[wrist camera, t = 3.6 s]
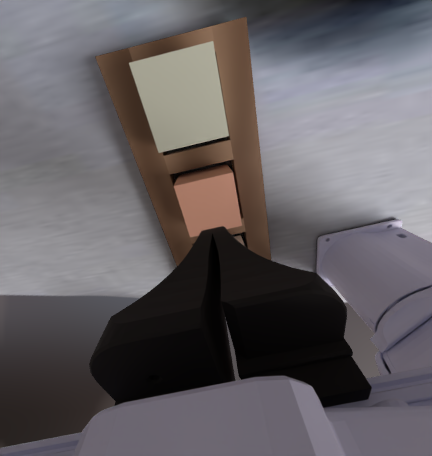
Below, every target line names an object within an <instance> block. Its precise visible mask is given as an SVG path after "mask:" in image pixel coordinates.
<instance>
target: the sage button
mask: <svg viewBox="0 0 432 456" xmlns="http://www.w3.org/2000/svg"><path fill="white" fill-rule="evenodd" d="M129 65H130V68H131V71H132V74H133V77H134V80H135V83H136V86H137V89H138V92H139V95H140V98H141V101H142V104H143V107H144V110H145V113H146V116H147V119H148V122H149V125H150V128H151V131H152V134H153V137H154V140H155V143H156V146H157V149H158V152H159V153H161V152H165V151H169V150H173V149H177V148H182V147H186V146H190V145H194V144H198V143H202V142H206V141H211V140H215V139H219V138H223V137H227V136H229V133H228V127H227V121H226V115H225V109H224V103H223V97H222V91H221V85H220V79H219V73H218V67H217V61H216V55H215V49H214V43H213V41H211V42H207V43H204V44H200V45H196V46H192V47H188V48H184V49H180V50H177V51H173V52H169V53H165V54H161V55H157V56H154V57H150V58H146V59H142V60H138V61H134V62H130V63H129Z"/></svg>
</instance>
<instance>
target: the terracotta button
mask: <svg viewBox="0 0 432 456" xmlns="http://www.w3.org/2000/svg"><path fill="white" fill-rule="evenodd" d="M174 189H175V192H176V195H177V198H178V201H179V205H180V208H181V211H182V214H183V217H184V220H185V223H186V226H187V229H188V232H189V235H190V237H194V236H199V234H200V233H201V231H203V230H207V229H212V228H216V227H221V226H224V227H226V229H230V228H234V227H239V226H242V222H241V216H240V210H239V204H238V199H237V193H236V187H235V181H234V175H233V172H232V170H231V169H230V168H229V166H228V165H227V164H223V165H219V166H215V167H211V168H207V169H202V170H198V171H194V172H190V173H185V174H181V175H179V176H178V178H177V180H176V182H175V184H174Z"/></svg>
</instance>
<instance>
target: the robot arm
mask: <svg viewBox="0 0 432 456" xmlns="http://www.w3.org/2000/svg"><path fill="white" fill-rule="evenodd" d="M401 227H402V221H401V220H399V219H395V220H391V221H386V222H382V223H377V224H373V225H368V226H364V227H359V228H355V229H350V230H346V231H341V232H337V233H332V234H328V235H323V236H320V237H319V238H318V240H317V269H316V273H313V272H309V271H304V270H300V269H295V268H291V267H288V266H285V265H282V264H279V263H276V262H273V261H271V260H268V259H266V258H264V257H262V256H260V255H258V254H256V253H254V252H252V251H251V250H249V249H248V248H246V247H245V246H244V245H242V244H241V243H240V242H239V241H238V240H236V239H235V238H234V237H233V236H232V235H231V234H230V233H229V232H228V230H227V229H226V227H224V226H221V227H216V228H212V229H207V230H203V231H201V233H200V234H199V236H198V238H197V240H196V241H195V243H194V245H193V246H192V248H191V249H190V251H189V252H188V254H187V255H186V257H185V258H184V259H183V260H182V262H181V263H180V264H179V265H178V266H177V267H176V268H175V269H174V271H173V272H172V273H171V274H170V275H168V276H167V277H166V278H165V279H164V280H163V281H162V282H161V283H160V284H158V285H157V286H156V287H155V288H153V289H152V290H151V291H150V292H148V293H147V294H146V295H144V296H143V297H141V298H140V299H139V300H137V301H136V302H134V303H133V304H131V305H130V306H128V307H126V308H125V309H123V310H122V311H120V312H119V313H117V314H115V315H113V316H112V317H111V318H110V320H109V322H108V324H107V326H106V328H105V330H104V332H103V334H102V336H101V338H100V341H99V343H98V345H97V347H96V349H95V351H94V353H93V355H92V357H91V360H90V364H89V365H90V371H91V374H92V376H93V377H94V378H95V380H96V381H97V382H98V383H99V385H100V386H102V388H103V389H104V390H105V391H106V392H107V393H108V394H109V395H110V396H111V397H112V398H113V399H114V400H115V401H116V402H115V406H113V407H111V408H108V409H105V410H102V411H100V412H99V413H98V414H96V415H95V416H94V417H93V418H92V419H91V420H90V422H89V423H88V425H87V426H86V427H85V428H84V430H83V432H82V433H77V434H71V435H66V436H61V437H55V438H51V439H45V440H40V441H35V442H29V443H24V444H19V445H13V446H9V447H4V448H0V456H432V243H431V242H429V241H427V240H425V239H423V238H421V237H418V236H416V235H414V234H412V233H410V232H408V231H406V230H404V229H402V228H401ZM327 238H328V239H327ZM326 239H327V240H326ZM330 286H334V287H335V288H336V289H337V290H338V291H339V292H340V294H341V295H342V296H343V297H344V298H345V300H346V301H347V302H348V303H349V304H350V305H351V307H352V308H353V309H354V310H355V311H356V312H357V313H358V315H359V316H360V317H361V318H362V319H363V321H364V322H365V323H366V324H367V325H368V326H369V328H370V329H371V330H372V331H373V332H374V334H375V335H374V336H373V337H372V338H371V341H372V342H373V343H374V345H375V346H376V347H377V348H378V350H379V352H377V354H376V356H375V358H376V364H377V367H378V370H379V373H380V375H381V376H376V377H371V378H365V376H364V375H363V373H362V372H361V370H360V369H359V367H358V366H357V364H356V363H355V361H354V360H353V358H352V357H351V356H352V354H353V352H352V349H351V348H350V346H349V345H348V343H347V342H346V341H345V339H344V332H345V325H346V319H347V309H346V306H345V304H344V302H343V300H342V299H341V298H340V297H339V296H338V294H337V293H336V292H335V291H334V290H333V289H332V288H331V287H330ZM225 317H226V319H225ZM226 321H227V325H228V328H229V332H230V335H231V339H232V342H233V346H234V349H235V355H236V361H237V368H238V373H239V377H240V378H241V380H238V381H235V376H234V370H233V364H232V357H231V352H230V345H229V338H228V332H227V325H226Z"/></svg>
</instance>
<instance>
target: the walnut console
mask: <svg viewBox="0 0 432 456" xmlns="http://www.w3.org/2000/svg"><path fill="white" fill-rule="evenodd" d="M211 41H213V43H214V49H215V55H216V61H217V67H218V73H219V79H220V85H221V91H222V97H223V103H224V109H225V115H226V121H227V127H228V133H229V136H227V139H225V140H221V141H217V142H212V143H208V144H204V145H200V146H196V147H192V148H188V149H183V150H179V151H175V152H171V153H167V151H165V152H161V153H159V152H158V149H157V146H156V143H155V140H154V137H153V134H152V131H151V128H150V125H149V122H148V119H147V116H146V113H145V110H144V107H143V104H142V101H141V98H140V95H139V92H138V89H137V86H136V83H135V80H134V77H133V74H132V71H131V68H130V65H129V63H130V62H134V61H138V60H142V59H146V58H150V57H154V56H157V55H161V54H165V53H169V52H173V51H177V50H180V49H184V48H188V47H192V46H196V45H200V44H204V43H207V42H211ZM95 58H96V60H97V63H98V65H99V68H100V71H101V73H102V76H103V78H104V81H105V83H106V86H107V88H108V91H109V94H110V96H111V99H112V101H113V104H114V106H115V109H116V111H117V114H118V117H119V119H120V122H121V124H122V127H123V129H124V132H125V134H126V137H127V140H128V142H129V145H130V147H131V150H132V152H133V155H134V157H135V160H136V163H137V165H138V168H139V170H140V173H141V175H142V178H143V180H144V183H145V186H146V188H147V191H148V193H149V196H150V198H151V201H152V203H153V206H154V209H155V211H156V214H157V216H158V219H159V221H160V224H161V226H162V229H163V232H164V234H165V237H166V239H167V242H168V244H169V247H170V249H171V252H172V255H173V257H174V260H175V262H176V265H177V266H178V265H179V264H180V263H181V262H182V260H183V259H184V258H185V257H186V255H187V254H188V252H189V251H190V249H191V248H192V246H193V245H194V243H195V241H196V240H197V238H198V236H194V237H190V235H189V232H188V229H187V226H186V223H185V220H184V217H183V214H182V211H181V208H180V205H179V201H178V198H177V195H176V192H175V189H174V184H175V182H176V180H175V177H174V173H178V172H183V171H187V170H191V169H195V168H199V167H204V166H208V165H212V164H216V163H220V162H225V161H229V160H231V163H232V169H233V175H234V181H235V187H236V192H237V198H238V204H239V210H240V216H241V222H242V226H239V227H234V228H230V229H227V230H228V232H229V233H230V234H231V235H233V234H237V233H242V232H243V233H244V239H245V245H246V248H248V249H249V250H251V251H252V252H254V253H256V254H258V255H260V256H262V257H264V258H266V259H268V260H271V252H270V242H269V233H268V223H267V213H266V204H265V194H264V184H263V175H262V165H261V155H260V146H259V136H258V126H257V116H256V107H255V97H254V87H253V78H252V68H251V58H250V49H249V39H248V29H247V20H246V17H244V18H240V19H236V20H233V21H229V22H225V23H221V24H217V25H214V26H210V27H206V28H202V29H198V30H195V31H191V32H187V33H183V34H179V35H176V36H172V37H168V38H164V39H160V40H157V41H153V42H149V43H145V44H141V45H138V46H134V47H130V48H126V49H122V50H118V51H115V52H111V53H107V54H103V55H99V56H96V57H95Z"/></svg>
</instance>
